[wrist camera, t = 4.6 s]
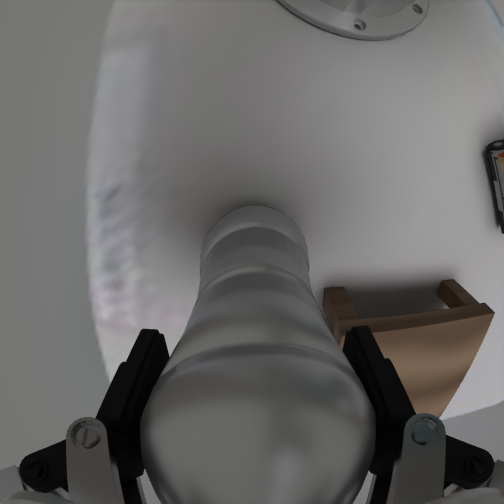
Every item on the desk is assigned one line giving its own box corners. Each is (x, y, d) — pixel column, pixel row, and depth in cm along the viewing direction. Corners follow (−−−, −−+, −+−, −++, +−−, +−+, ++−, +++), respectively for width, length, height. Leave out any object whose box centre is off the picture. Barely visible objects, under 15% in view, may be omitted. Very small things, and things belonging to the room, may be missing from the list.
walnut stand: (321, 285, 21) (342, 335, 16) (456, 276, 21) (494, 312, 16) (306, 396, 26) (314, 445, 21) (418, 379, 26) (438, 419, 21)
